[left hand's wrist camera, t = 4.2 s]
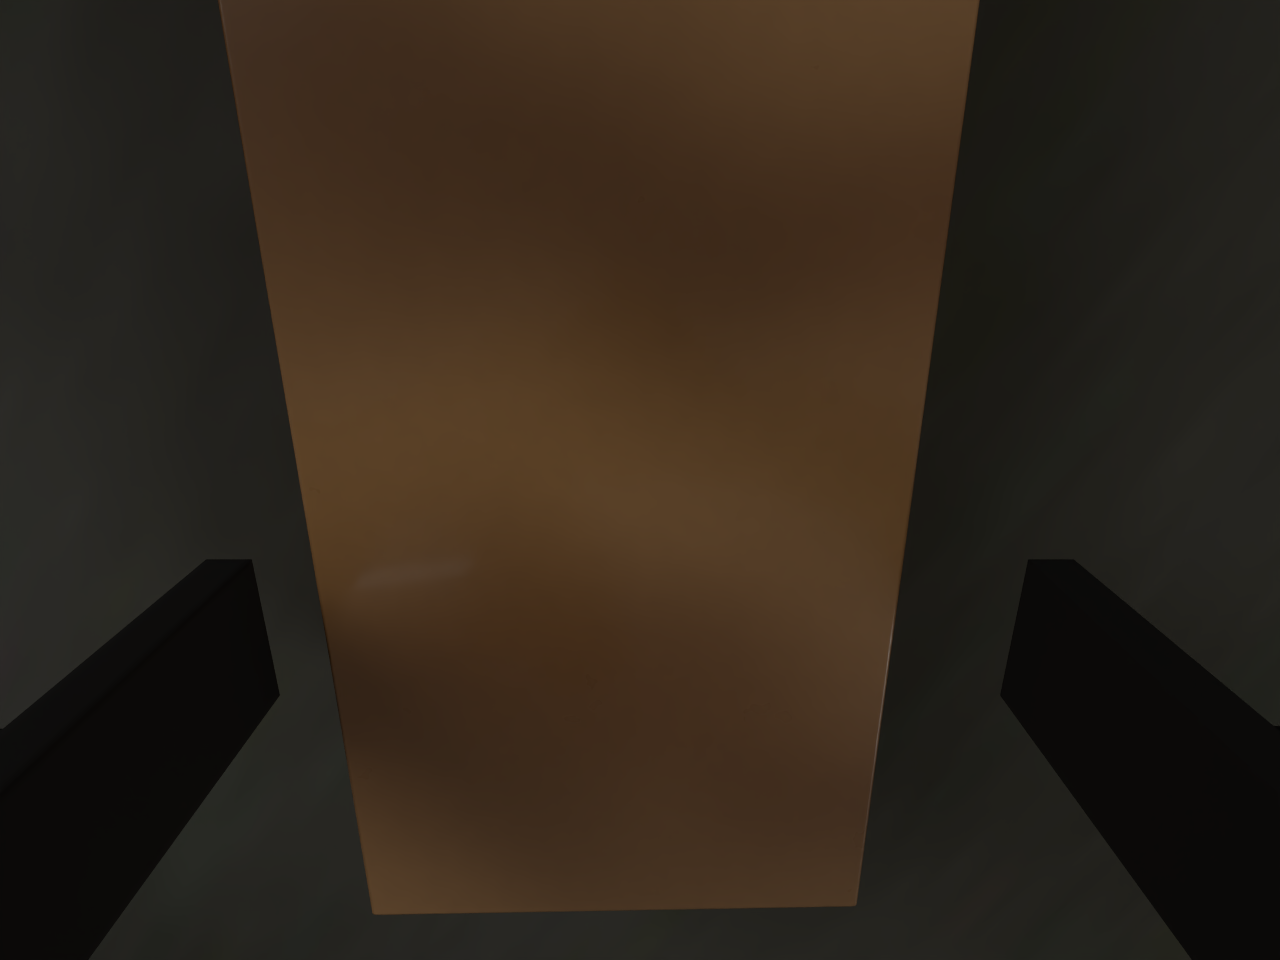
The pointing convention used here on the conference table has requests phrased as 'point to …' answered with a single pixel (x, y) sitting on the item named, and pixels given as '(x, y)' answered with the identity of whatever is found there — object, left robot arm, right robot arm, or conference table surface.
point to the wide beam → (605, 421)
